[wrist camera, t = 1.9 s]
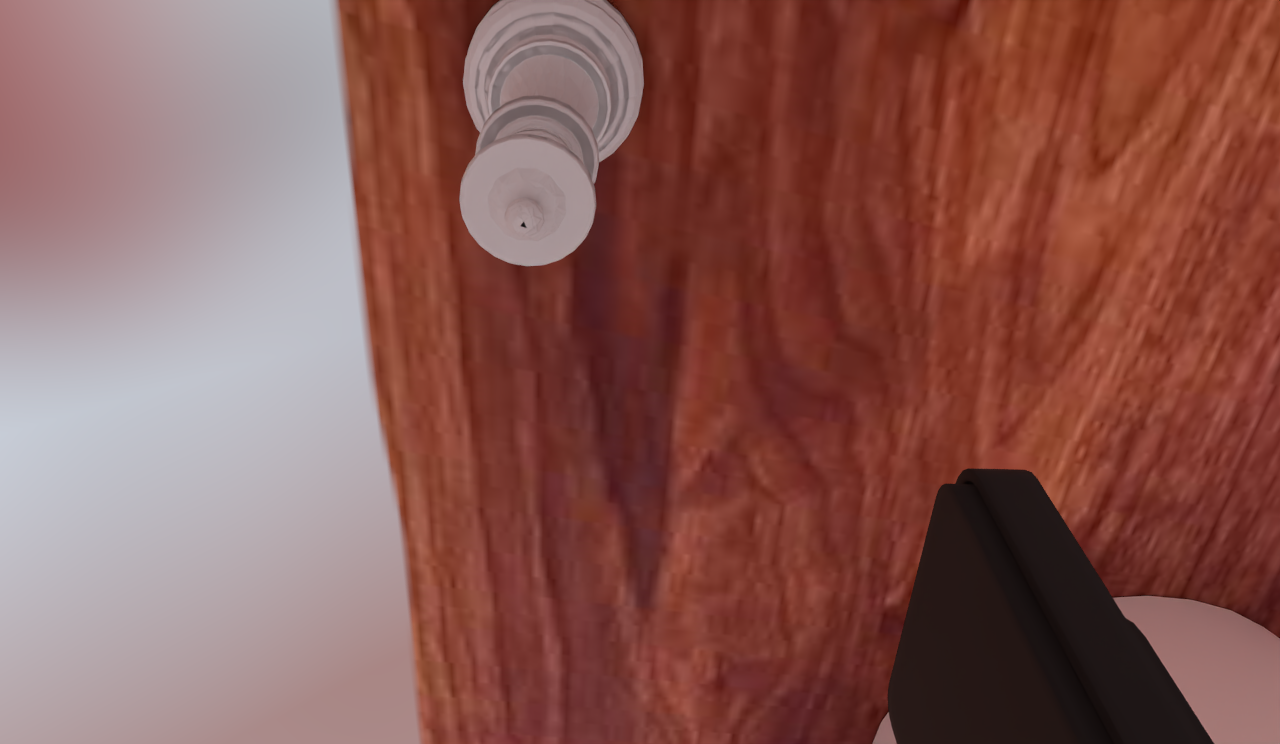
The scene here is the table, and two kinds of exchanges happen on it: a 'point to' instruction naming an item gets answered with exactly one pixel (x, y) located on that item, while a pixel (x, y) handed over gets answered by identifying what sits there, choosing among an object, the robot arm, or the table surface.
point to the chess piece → (545, 122)
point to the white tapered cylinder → (1206, 666)
